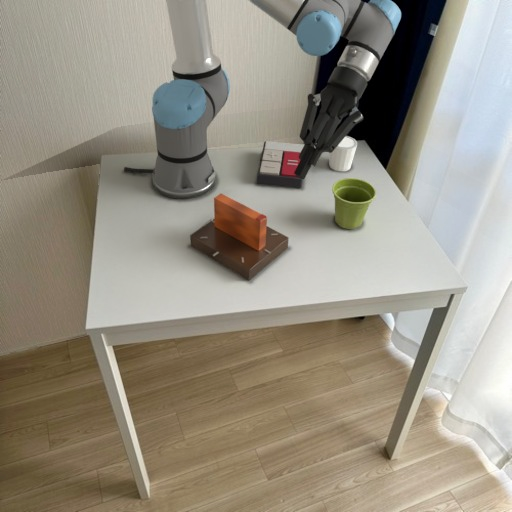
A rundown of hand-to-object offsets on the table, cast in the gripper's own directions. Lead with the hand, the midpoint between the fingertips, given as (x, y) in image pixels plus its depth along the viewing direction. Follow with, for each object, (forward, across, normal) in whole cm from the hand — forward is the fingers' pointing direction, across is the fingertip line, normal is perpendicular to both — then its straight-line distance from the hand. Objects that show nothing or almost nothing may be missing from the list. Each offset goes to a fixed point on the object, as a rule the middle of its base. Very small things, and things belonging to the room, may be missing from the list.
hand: (298, 176), depth 109 cm
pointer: (+17, -4, -3) cm, 18 cm away
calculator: (-2, -15, +20) cm, 25 cm away
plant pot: (+3, +9, +15) cm, 18 cm away
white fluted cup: (-11, -5, +29) cm, 31 cm away
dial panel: (+19, -4, -1) cm, 19 cm away
